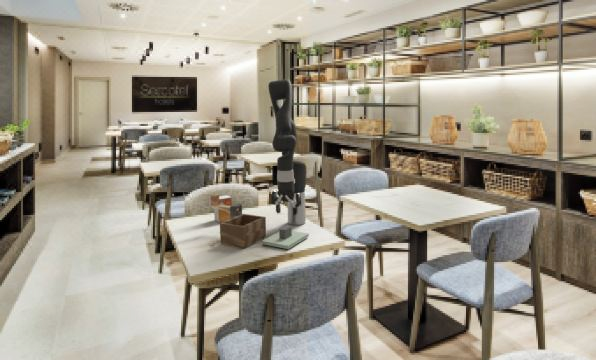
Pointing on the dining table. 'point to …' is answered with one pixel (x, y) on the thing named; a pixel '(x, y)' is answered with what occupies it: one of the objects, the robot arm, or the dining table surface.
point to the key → (216, 204)
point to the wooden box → (242, 229)
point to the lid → (285, 238)
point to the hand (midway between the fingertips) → (286, 214)
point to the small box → (223, 214)
